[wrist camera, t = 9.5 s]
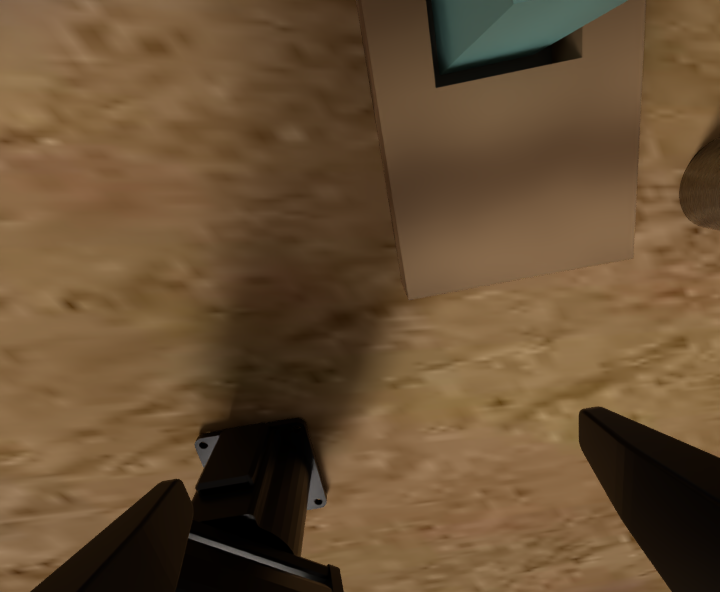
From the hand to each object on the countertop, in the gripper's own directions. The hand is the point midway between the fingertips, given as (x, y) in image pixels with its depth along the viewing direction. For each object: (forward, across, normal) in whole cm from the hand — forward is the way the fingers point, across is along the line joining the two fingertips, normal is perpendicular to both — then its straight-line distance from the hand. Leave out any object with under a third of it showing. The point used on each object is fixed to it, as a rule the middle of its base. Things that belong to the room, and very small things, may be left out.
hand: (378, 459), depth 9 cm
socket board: (+12, -7, -8) cm, 16 cm away
